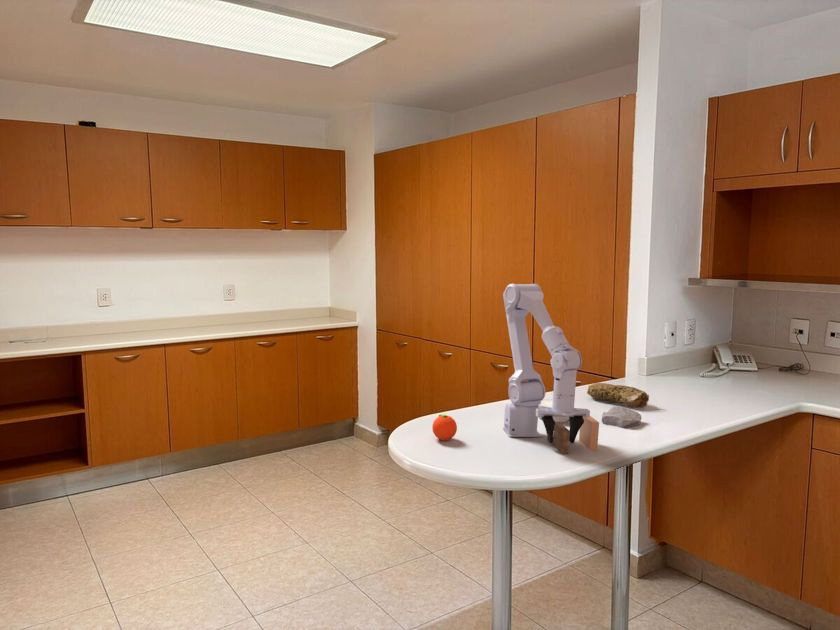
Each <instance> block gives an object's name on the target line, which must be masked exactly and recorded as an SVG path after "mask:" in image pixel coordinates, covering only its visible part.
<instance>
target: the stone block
mask: <svg viewBox="0 0 840 630" xmlns="http://www.w3.org/2000/svg"><path fill="white" fill-rule="evenodd" d="M641 420H642V415H641V413H640V412H638V411H635V410H633V409H631V408H627V407H625V406H618V405H617V406H613V407H611V408H610V409H609V410H608V411H607V412H605V411H604V412H602V415H601V423H602V424H603V425H608V426H614V427H617V428H621V429H625V428H629V427H634V426H637V425H640V422H641Z"/></svg>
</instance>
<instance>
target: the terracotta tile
mask: <svg viewBox="0 0 840 630" xmlns="http://www.w3.org/2000/svg"><path fill="white" fill-rule="evenodd" d="M583 419H584V423H583V425H582V426H581V428H580V429H579V432H578V433H579V436H578V441H579V442H580V444H581V445H583V446H584V447H585V448H586V449H588V450H589V451H598V447H599V446H598V444H599V432H600V422H599V421H598V420H597V419H595V418H594V417H592V415H590V417H589V418H586V417H583Z"/></svg>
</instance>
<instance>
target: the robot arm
mask: <svg viewBox="0 0 840 630" xmlns="http://www.w3.org/2000/svg"><path fill="white" fill-rule="evenodd" d="M544 295H545V294H544V293H543V291H542V288H541V286H540V285H538V284H537V283H529V284H527V283H526V284H525V283H524V284H523V283H522V284H519V283H517V284H515V283H510V284H508V285H507V286H506V287H505V290H504V291H503V294H502V297H503V303H504V311H505V315H506V321H507V323H506V324H507V327H508V328H507V329H508V336H509V341H510V346H511V353H512V361H513V367H514V373H513V374H512V375H511V376H510V377H509V378H508V389H507V390H508V391H507V392H508V398H509V400H510V402H511V403H506V404H505V407H504V419H503V420H504V422H503V428H502V429H503V430H504V432H505V433H506V434H507V436H509V437H510V438H542V434H541V433H540V432H539V431H538V422H539V421H538V419H539V417H541V418H542V420H541V421H542V423H543V425H544V428H545V432H546V437H547V443H549V444H550V445H553V432H554V426H555V421H554V420H553V417H569V420H568V421H569V431H570V439H569V444H570V443H571V444H573V445H574V444H575V441H576V438H577V435H578V433H579V432H580V428H581V426H582V425H583V423H584V419H583V417H586V418H589V417H590V416H591V414H590V413H591V411H590V410H589V409H588V408H578V407H575V400H576V399H575V396H576V385H577V384H576V383H577V372H578V370H579V369H580V368H581V367H582V365H583V358H582V355H581V352H580V351H579V350H578V349H576V348H574V347H573V346H572V345H570V343H569V341H568V340H567V338H566V335H565V334H564V331H563V329H562V328H561V327H560V326H555V325H554V323H553V320H552V319H551V316H550V314H549V311H548V310H547V309H548V308H546V305H545V303H544V297H545V296H544ZM529 313H530V314H531V316H533V319H534V320H535V322H536V323H537V324H538V326H539V327H540V329H541V331H542V334H541V339H542V341H543V343H544V345H545V346H546V348H547V351H548V352H549V354H550V356H551V359H550V360H549V361H550V366H551V368H552V369H551V370H552V375H553V377H554V378H553V393H552V399H553V405H552V407H550V408H541V409H538V407H539V404H541V401H542V400H543V399H545V397H546V387H545V385H544V383H543V381H542V380H543V379H542V375H541V374H539V372H537V371H536V370H535V369H534V364H533V359H532V351H531V347H530V340H529V334H528V327H527V322H526V321H527V320H526V317H527V315H528V314H529Z"/></svg>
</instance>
